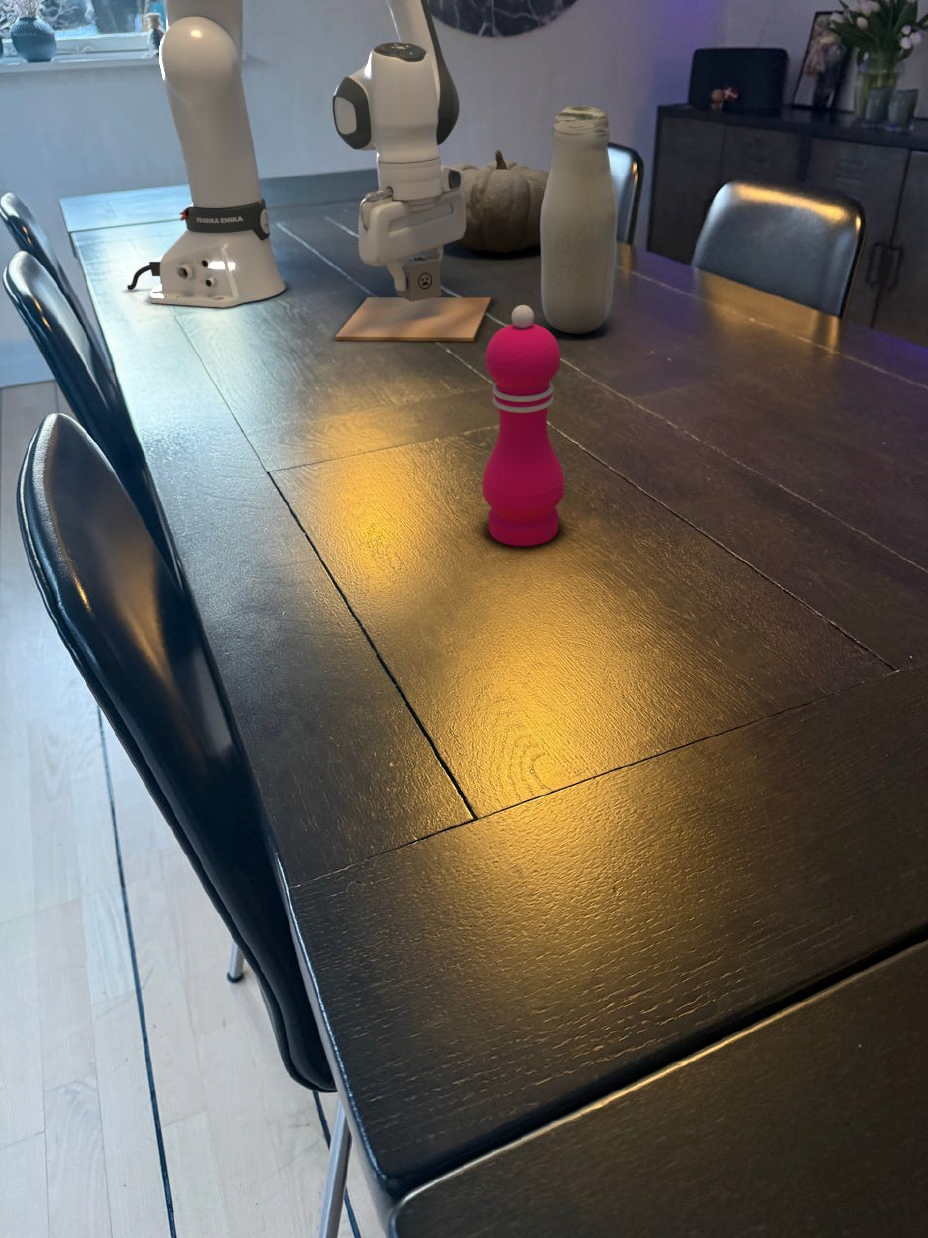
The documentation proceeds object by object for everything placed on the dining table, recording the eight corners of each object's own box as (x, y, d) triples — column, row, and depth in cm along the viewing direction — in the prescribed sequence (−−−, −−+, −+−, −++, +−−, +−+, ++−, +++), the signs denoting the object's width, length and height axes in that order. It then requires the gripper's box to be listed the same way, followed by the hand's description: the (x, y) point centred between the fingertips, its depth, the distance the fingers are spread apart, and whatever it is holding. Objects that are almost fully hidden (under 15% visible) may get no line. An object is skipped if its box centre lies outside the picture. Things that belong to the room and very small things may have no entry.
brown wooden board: (335, 340, 129) (335, 336, 128) (368, 300, 145) (367, 297, 144) (473, 341, 126) (473, 337, 125) (490, 301, 142) (490, 297, 142)
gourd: (405, 243, 165) (414, 138, 157) (457, 238, 186) (467, 144, 177) (532, 266, 158) (549, 157, 150) (571, 258, 179) (587, 161, 170)
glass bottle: (616, 322, 130) (629, 101, 114) (602, 344, 122) (613, 110, 106) (550, 318, 133) (554, 101, 117) (532, 339, 125) (533, 110, 109)
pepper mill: (479, 514, 84) (472, 295, 73) (556, 508, 84) (560, 289, 73) (488, 553, 78) (481, 322, 67) (569, 546, 78) (577, 315, 67)
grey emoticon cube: (441, 295, 133) (439, 260, 130) (411, 301, 131) (408, 265, 128) (426, 288, 136) (423, 253, 133) (396, 294, 134) (393, 259, 132)
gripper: (377, 196, 117) (387, 304, 124) (471, 170, 129) (475, 270, 137) (342, 193, 120) (354, 298, 128) (437, 168, 133) (443, 265, 141)
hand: (417, 283), depth 133 cm, fingers closed on grey emoticon cube, 5 cm apart
